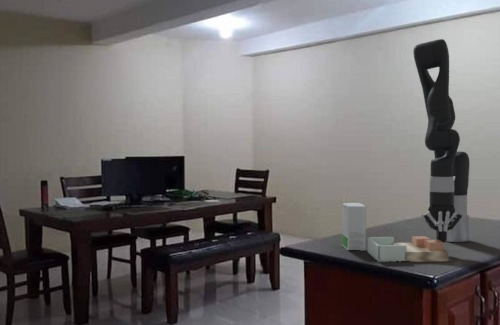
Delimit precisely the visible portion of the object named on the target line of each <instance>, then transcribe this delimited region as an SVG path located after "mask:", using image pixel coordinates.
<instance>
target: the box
mask: <svg viewBox="0 0 500 325" xmlns="http://www.w3.org/2000/svg"><path fill="white" fill-rule="evenodd" d="M366 239H367V240H366V241H367V242H366V243H367V244H366V245H367V246H366V252H367V253H368V255H370V256H371V257H372V258H373V259H374V260H377V261H376V262H377V263H397V262H396V261H399V262H398V263H401V261H407V246H406V245H396V244H394V243H395V242H394V240H395V238H394V236H370V237H369V236H367V237H366ZM390 261H391V262H390Z"/></svg>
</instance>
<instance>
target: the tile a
mask: <svg viewBox="0 0 500 325" xmlns="http://www.w3.org/2000/svg"><path fill="white" fill-rule="evenodd" d="M424 240H431V238H429V237H428V236H425V235H421V236H419V235H417V236H416V235H415V236H413V235H411V243H412V244H413V245H415V246H416V247H424Z"/></svg>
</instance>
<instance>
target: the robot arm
mask: <svg viewBox="0 0 500 325" xmlns="http://www.w3.org/2000/svg"><path fill="white" fill-rule="evenodd" d="M412 52H413V58H414V64H415V68H416V70H417V73H418V77H419V81H420V84H421V89H422V94H423V99H424V104H425V106H424V107H425V110H426V115H427V120H428V122H427V129H426V133H425V138H424V145H425V146H426V148H427V149H428V150H429V151H433V152H434V154H433V155H434V158H433V159H431V160H430V177H429V178H430V179H429V206H428V209H427V212H425V213H422V214H421V218H422V219H423V220H424V221H425V222H426V224H427V225H428V226H429V228H430V229H432V230H434V231H435V232H436V237H435V238H436V239H435V240H440V241H442V242H444V244H445V243H446V242H449V243H450V242H452V243H465V242H470V215H469V214H468V190H469V181H470V180H469V176H470V157H469V155H468V153H467V152H465V151H458V150H459V145H460V142H461V139H460V138H461V137H460V134H459V132H458V130H456V129H453V127H454V124H455V121H456V111H455V108H454V107H455V106H454V102H453V99H452V98H451V96H450V93H449V92H450V91H449V90H450V53H449V52H450V51H449V47H448V44H447V42H446V41H445V39H443V38H441V39H435V40H431V41H426V42H422V43H418V44H416V45H414V47H413V51H412ZM435 68H439V69H438V70H439V71H438V73H437V77H436V80H434V79H433V78H432V76H431V75H430V73H429V71H428V70H431V69H435ZM431 218H432V219H433V220H434V222H433V221H432V220H431Z"/></svg>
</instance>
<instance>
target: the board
mask: <svg viewBox="0 0 500 325" xmlns="http://www.w3.org/2000/svg"><path fill="white" fill-rule="evenodd" d="M394 244H396V245H406V246H407V261H410V263H412V262H415V263H417V262H419V263H420V262H421V263H423V262H427V263H428V262H449V250H446V249H444V250H441V251H429V250H428V249H426V248H424V247H416V246H415V245H413V244H412V242H394Z"/></svg>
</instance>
